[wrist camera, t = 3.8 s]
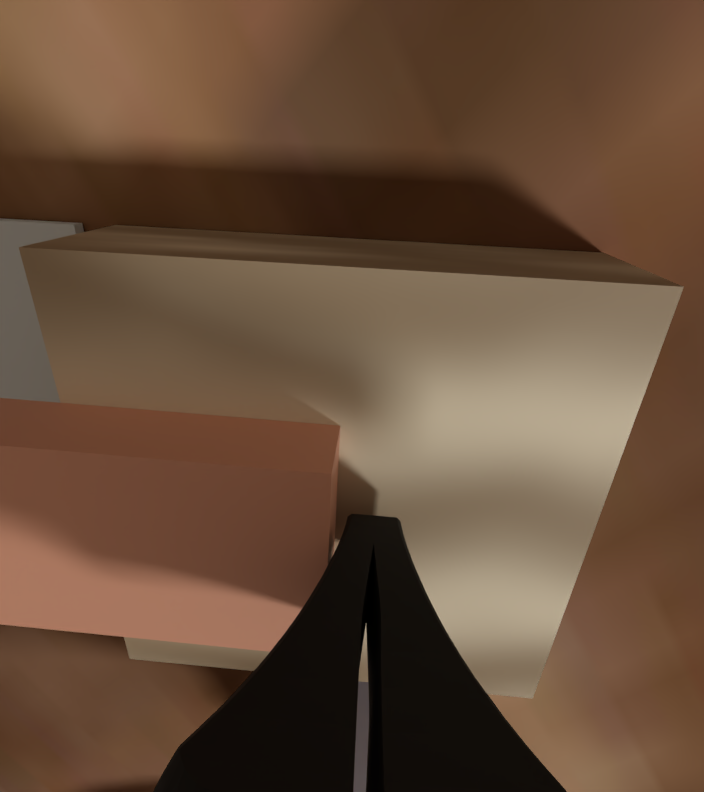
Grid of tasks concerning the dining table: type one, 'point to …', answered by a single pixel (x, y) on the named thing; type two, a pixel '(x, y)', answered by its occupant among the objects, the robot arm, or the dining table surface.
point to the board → (386, 394)
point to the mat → (24, 313)
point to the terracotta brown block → (162, 522)
